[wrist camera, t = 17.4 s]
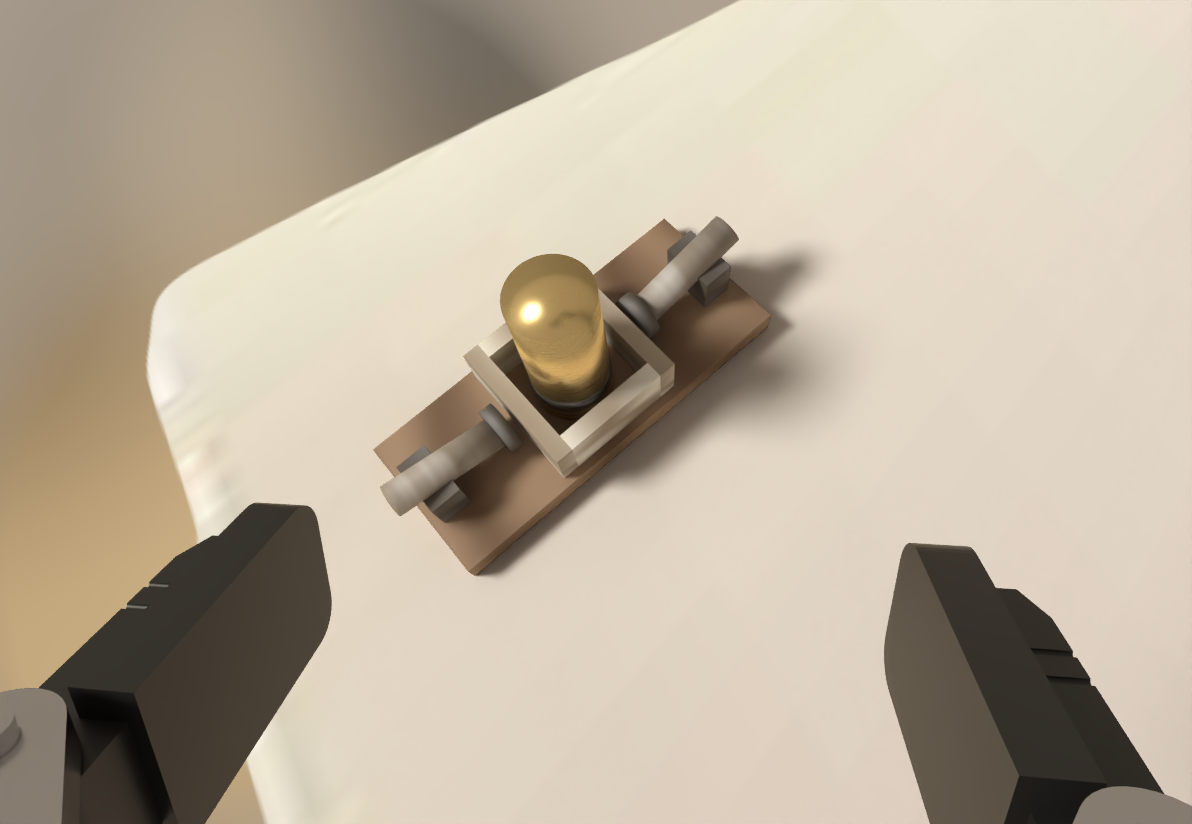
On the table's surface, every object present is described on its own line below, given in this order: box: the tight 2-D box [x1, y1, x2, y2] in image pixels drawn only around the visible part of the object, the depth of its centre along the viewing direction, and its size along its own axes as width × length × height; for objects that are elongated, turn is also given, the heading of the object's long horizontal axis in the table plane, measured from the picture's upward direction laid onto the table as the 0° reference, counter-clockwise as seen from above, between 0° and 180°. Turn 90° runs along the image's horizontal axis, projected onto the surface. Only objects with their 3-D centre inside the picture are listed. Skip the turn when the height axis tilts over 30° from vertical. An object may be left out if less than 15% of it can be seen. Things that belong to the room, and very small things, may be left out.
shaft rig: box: [373, 216, 771, 576], centre depth 42 cm, size 24×9×6 cm, turn 130°
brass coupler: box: [500, 254, 613, 420], centre depth 39 cm, size 4×4×10 cm
